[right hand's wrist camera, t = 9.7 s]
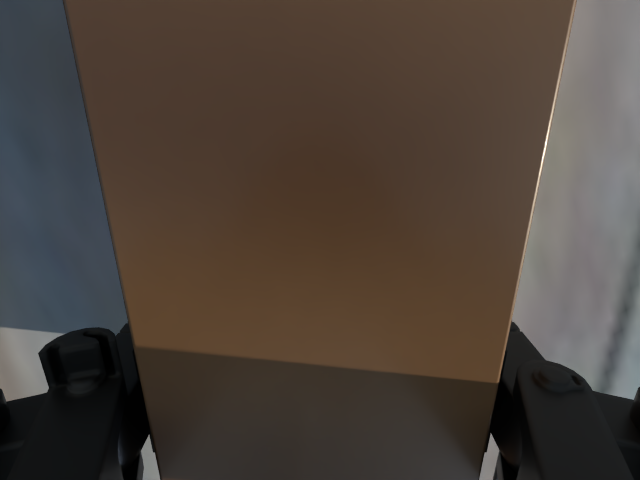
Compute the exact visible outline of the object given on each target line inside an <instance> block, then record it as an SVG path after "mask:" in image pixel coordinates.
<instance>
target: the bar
mask: <svg viewBox="0 0 640 480" xmlns="http://www.w3.org/2000/svg"><path fill="white" fill-rule="evenodd" d="M576 2H577V0H63V4H64V8H65V13H66V18H67V23H68V28H69V33H70V38H71V43H72V48H73V53H74V57H75V62H76V67H77V72H78V77H79V82H80V87H81V92H82V97H83V102H84V107H85V111H86V116H87V121H88V126H89V131H90V136H91V141H92V146H93V151H94V156H95V161H96V165H97V170H98V175H99V180H100V185H101V190H102V195H103V200H104V205H105V210H106V214H107V219H108V224H109V229H110V234H111V239H112V244H113V249H114V254H115V259H116V264H117V268H118V273H119V278H120V283H121V288H122V293H123V298H124V303H125V308H126V313H127V317H128V322H129V327H130V332H131V337H132V342H133V347H134V352H135V357H136V362H137V367H138V371H139V376H140V381H141V386H142V391H143V396H144V401H145V406H146V411H147V416H148V421H149V425H150V430H151V435H152V440H153V445H154V450H155V455H156V460H157V465H158V470H159V474H160V479H161V480H479V477H480V472H481V467H482V462H483V457H484V452H485V447H486V443H487V438H488V433H489V428H490V423H491V418H492V413H493V408H494V403H495V398H496V394H497V389H498V384H499V379H500V374H501V369H502V364H503V359H504V354H505V349H506V345H507V340H508V335H509V330H510V325H511V320H512V315H513V310H514V305H515V301H516V296H517V291H518V286H519V281H520V276H521V271H522V266H523V261H524V256H525V252H526V247H527V242H528V237H529V232H530V227H531V222H532V217H533V212H534V207H535V203H536V198H537V193H538V188H539V183H540V178H541V173H542V168H543V163H544V158H545V154H546V149H547V144H548V139H549V134H550V129H551V124H552V119H553V114H554V109H555V105H556V100H557V95H558V90H559V85H560V80H561V75H562V70H563V65H564V60H565V56H566V51H567V46H568V41H569V36H570V31H571V26H572V21H573V16H574V11H575V7H576Z"/></svg>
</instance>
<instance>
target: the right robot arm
mask: <svg viewBox="0 0 640 480" xmlns="http://www.w3.org/2000/svg"><path fill="white" fill-rule="evenodd" d="M38 354H39V357H40V360H41V364H42V367H43V370H44V373H45V376H46V380H47V383H48V386H49V390H48V392H47V393H44V394H40V395H35V396H31V397H26V398H21V399H17V400H12V401H7V402H6V400H5V397H4V394H3V391H2V389H0V480H142V478H143V470H144V466H143V459H142V454H141V449H142V447H143V445H144V443H145V441H146V439H147V437H148V435H150V439H151V444H152V449H153V452H155V450H154V445H153V440H152V435H151V430H150V425H149V421H148V416H147V411H146V406H145V401H144V396H143V391H142V386H141V381H140V376H139V371H138V367H137V362H136V357H135V352H134V347H133V342H132V337H131V332H130V327H129V322H128V324H125V325H124V327H123V328H122V329H121V330H120V333H118V334H117V335H116V336H115V334H114V333H113V332H111V331H110V330H109V329H104V328H99V327H98V328H84V329H80V330H76V331H72V332H69V333H67V334H64V335H62V336H60V337H57V338H56V339H54V340H53V341H51V342H49V343H48V344H46V345H45V346H44V347H43V348H42V350H41V351H40V352H39V353H38ZM490 433H491V434H492V436H493V438H494V440H495V442H496V444H497V446H498V448H499V454H498V459H497V463H496V468H495V472H494V477H493V480H640V387H639V388H638V390H637V393H636V396H635V398H634V400H632V399H627V398H622V397H617V396H613V395H608V394H603V393H599V392H595V391H592V389H591V387H590V386H589V384H588V383H587V382H586V380H585V379H584V378H583V377H581V376H580V375H579V374H577V373H576V372H575V371H573V370H571V369H569V368H567V367H565V366H563V365H561V364H557V363H554V362H550V361H546V360H545V359H544V358H543V357H542V355H541V354H540V353H539V352H538V351H537V349H536V348H535V347H534V346H533V345H532V343H531V342H530V341H529V340H528V339H527V337H526V336H525V335H524V334H523V332H520V329H519V328H518V326H517V325H516V324H515V323H514V322H512V320H511V325H510V330H509V335H508V340H507V345H506V349H505V354H504V359H503V364H502V369H501V374H500V379H499V384H498V389H497V394H496V398H495V403H494V408H493V413H492V418H491V423H490V428H489V433H488V438H487V443H486V447H485V452H487V448H488V443H489V438H490Z"/></svg>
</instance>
